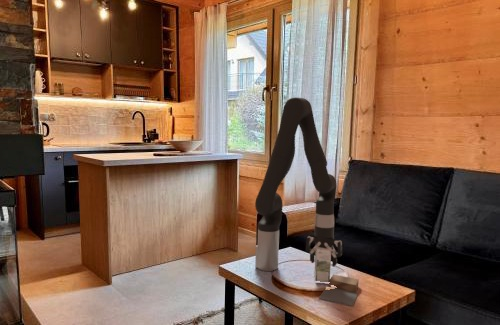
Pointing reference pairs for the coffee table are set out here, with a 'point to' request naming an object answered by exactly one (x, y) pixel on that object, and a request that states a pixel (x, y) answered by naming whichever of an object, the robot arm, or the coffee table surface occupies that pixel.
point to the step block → (344, 283)
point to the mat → (339, 296)
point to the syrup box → (322, 264)
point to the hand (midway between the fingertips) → (323, 264)
